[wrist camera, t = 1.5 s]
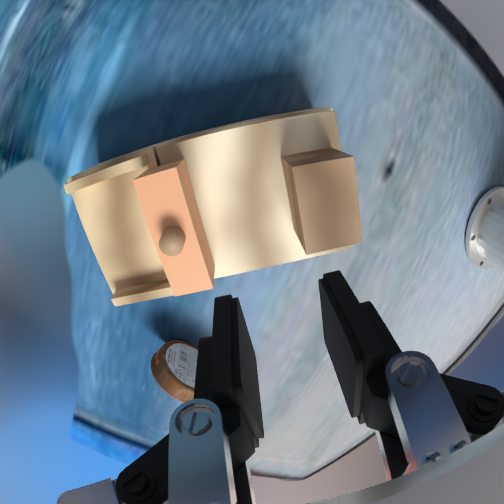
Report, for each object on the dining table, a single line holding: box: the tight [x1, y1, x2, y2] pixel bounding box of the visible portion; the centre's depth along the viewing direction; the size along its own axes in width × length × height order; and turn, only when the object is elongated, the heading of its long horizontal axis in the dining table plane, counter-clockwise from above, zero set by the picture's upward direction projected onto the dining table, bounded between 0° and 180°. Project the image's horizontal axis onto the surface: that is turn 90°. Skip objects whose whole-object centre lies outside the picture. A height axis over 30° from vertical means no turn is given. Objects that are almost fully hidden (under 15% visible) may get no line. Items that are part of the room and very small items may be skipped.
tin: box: [151, 340, 198, 403], centre depth 36 cm, size 15×3×8 cm, turn 50°
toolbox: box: [64, 108, 333, 306], centre depth 26 cm, size 22×12×8 cm, turn 102°
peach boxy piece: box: [133, 159, 215, 296], centre depth 21 cm, size 3×9×5 cm, turn 12°
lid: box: [156, 111, 361, 279], centre depth 21 cm, size 14×12×6 cm
